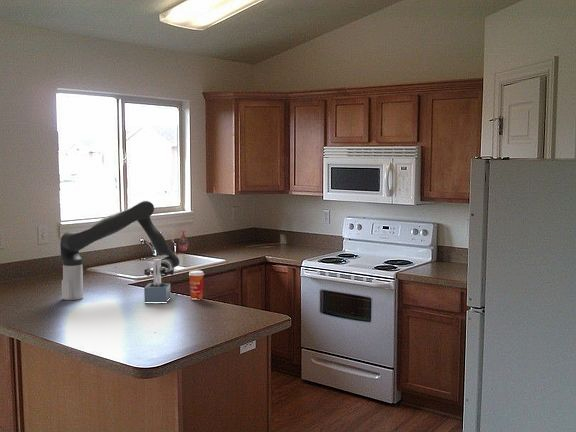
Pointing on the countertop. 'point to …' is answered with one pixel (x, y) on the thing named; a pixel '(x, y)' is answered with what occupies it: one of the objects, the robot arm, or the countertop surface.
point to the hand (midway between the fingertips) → (156, 274)
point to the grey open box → (157, 293)
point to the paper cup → (196, 284)
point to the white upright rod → (157, 272)
